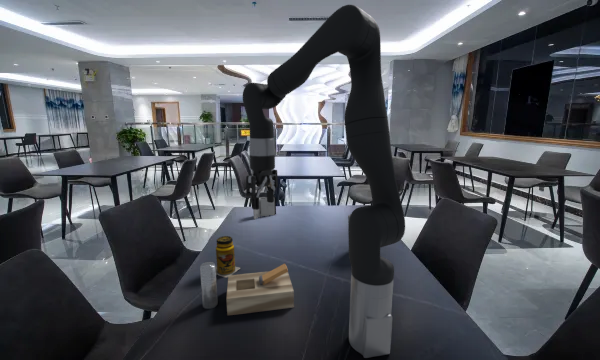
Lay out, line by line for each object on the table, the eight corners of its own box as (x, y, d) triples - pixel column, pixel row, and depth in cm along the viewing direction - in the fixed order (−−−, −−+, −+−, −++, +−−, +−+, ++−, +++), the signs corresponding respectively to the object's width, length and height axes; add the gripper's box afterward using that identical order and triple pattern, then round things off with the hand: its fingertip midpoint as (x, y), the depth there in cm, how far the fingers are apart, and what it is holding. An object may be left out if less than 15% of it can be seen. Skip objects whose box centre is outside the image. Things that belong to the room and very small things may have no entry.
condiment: (226, 278, 95) (224, 244, 93) (208, 271, 99) (205, 239, 97) (241, 268, 102) (239, 236, 99) (223, 262, 106) (221, 232, 103)
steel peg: (217, 307, 80) (214, 268, 78) (201, 309, 79) (198, 269, 77) (218, 299, 84) (215, 261, 82) (203, 300, 83) (201, 262, 81)
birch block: (293, 307, 80) (293, 291, 79) (227, 315, 77) (226, 298, 76) (287, 284, 92) (287, 269, 91) (229, 290, 88) (228, 275, 87)
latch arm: (261, 286, 82) (258, 282, 82) (260, 280, 85) (258, 276, 85) (288, 271, 83) (286, 267, 82) (286, 266, 86) (284, 262, 85)
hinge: (254, 219, 153) (253, 201, 151) (250, 216, 157) (249, 199, 155) (277, 214, 160) (276, 197, 158) (272, 212, 164) (272, 195, 163)
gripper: (259, 156, 78) (261, 213, 82) (284, 151, 91) (284, 201, 94) (237, 155, 81) (239, 210, 85) (264, 150, 94) (265, 198, 97)
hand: (263, 205), depth 89 cm, fingers open, 8 cm apart
